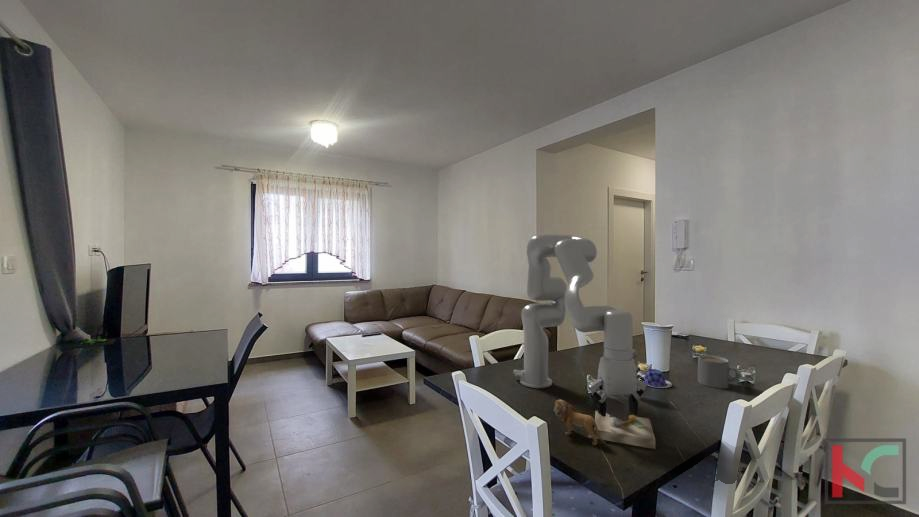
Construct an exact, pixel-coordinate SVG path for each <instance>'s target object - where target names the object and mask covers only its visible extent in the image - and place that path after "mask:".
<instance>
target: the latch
mask: <svg viewBox="0 0 919 517" xmlns="http://www.w3.org/2000/svg"><path fill="white" fill-rule="evenodd" d="M605 401H606V402H605V403H606V413H607V414H609V415H611V416H613V424H614V425H616V426H621V425H622V424H624V423H627V422H630V421H633V420H636V417H637V416H636V415H635V414H630V411H629V401H627V400H624V399H622V398H620V397H618V396H617V397H616V395H614V396H608V397H607V398H606V399H605Z"/></svg>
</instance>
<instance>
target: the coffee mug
mask: <svg viewBox="0 0 919 517" xmlns="http://www.w3.org/2000/svg"><path fill="white" fill-rule="evenodd" d="M729 361H730V360H728V359H727V358H725V357H722V356H717V355H709V354H708V355H707V354H705V355H704V354H702V355H701V354H700V355H698V356H697V383H699V384H700V383H701V384H700V385H702V384H703V385H702V386H704V385H706V386H705V387H708V386H709V387H708V388H714V389H728V388H729V384H730V383H734V382H737V381H739V380H740V379H741V371H740V369H739V368H738V367H737V366H735V365H732V364H730V362H729ZM731 370H733V371H734V372H735V376H734V377H732V376H730V371H731Z"/></svg>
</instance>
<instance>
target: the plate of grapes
mask: <svg viewBox="0 0 919 517" xmlns="http://www.w3.org/2000/svg"><path fill="white" fill-rule="evenodd" d="M644 377H645V378H644V381H643V382H644V383H646V384H647V385H646V387H647V386H648V387H652V388H657V389H658V388H659V389H661V388H662V389H664V388H665V389H667V388H670V387H672V386H673V384H672V383H671V382H670V381H669V380H666V378H665V374H664V372H663V371H662V370H658V369H656V368H648V369H646V371H645V373H644ZM640 378H641V377H638V378H637V379H638V380H641V379H640ZM666 384H667V385H666Z"/></svg>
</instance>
